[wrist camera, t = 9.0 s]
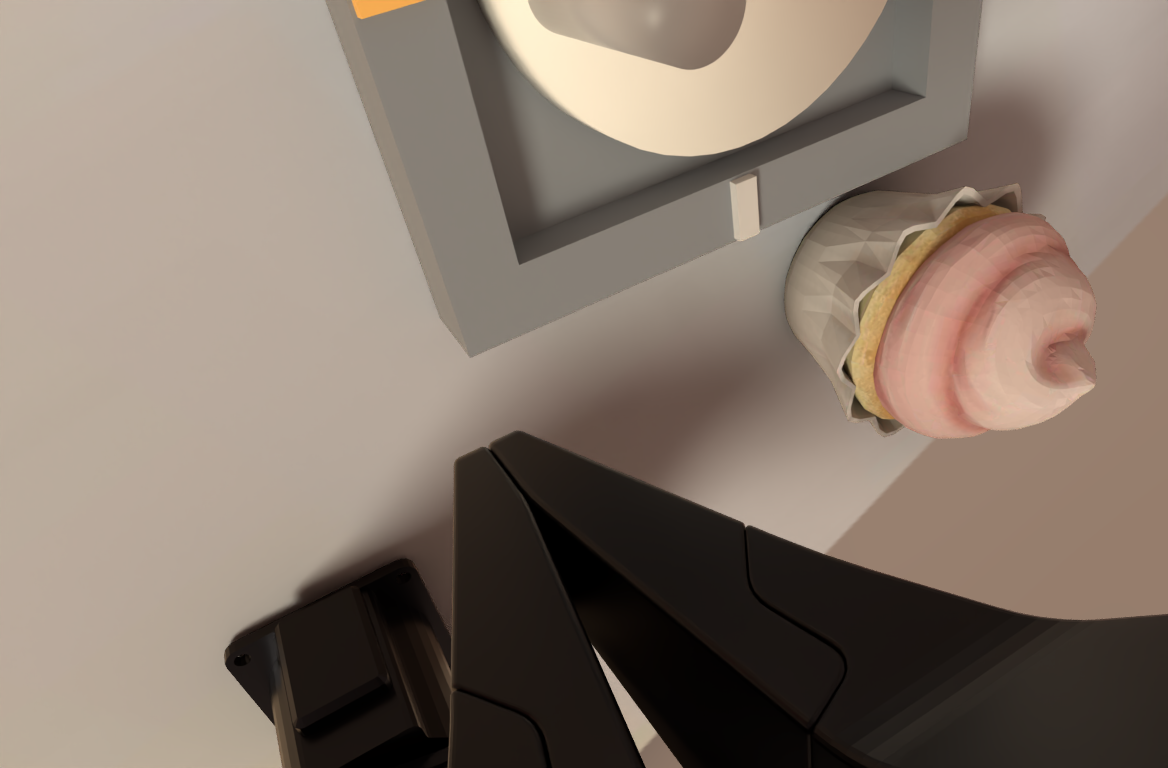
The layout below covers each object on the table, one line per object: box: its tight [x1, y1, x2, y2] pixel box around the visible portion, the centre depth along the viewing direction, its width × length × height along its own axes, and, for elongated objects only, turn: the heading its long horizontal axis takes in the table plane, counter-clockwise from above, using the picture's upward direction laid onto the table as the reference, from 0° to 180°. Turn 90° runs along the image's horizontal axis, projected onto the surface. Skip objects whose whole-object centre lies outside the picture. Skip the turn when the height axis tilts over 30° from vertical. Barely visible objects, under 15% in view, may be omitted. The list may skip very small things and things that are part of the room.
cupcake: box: [784, 183, 1096, 438], centre depth 26 cm, size 9×9×10 cm
